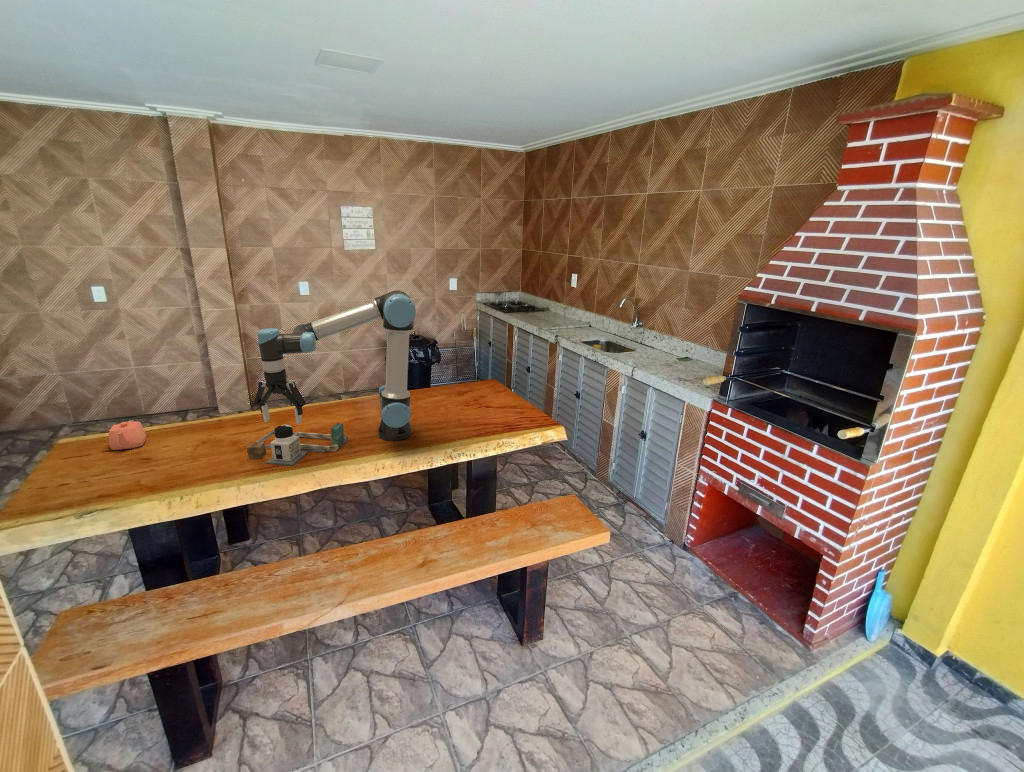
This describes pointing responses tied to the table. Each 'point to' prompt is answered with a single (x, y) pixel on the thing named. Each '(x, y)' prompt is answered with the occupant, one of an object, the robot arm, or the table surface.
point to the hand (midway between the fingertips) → (283, 421)
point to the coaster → (287, 461)
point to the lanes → (293, 434)
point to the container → (285, 444)
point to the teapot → (126, 435)
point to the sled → (335, 436)
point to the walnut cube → (256, 450)
